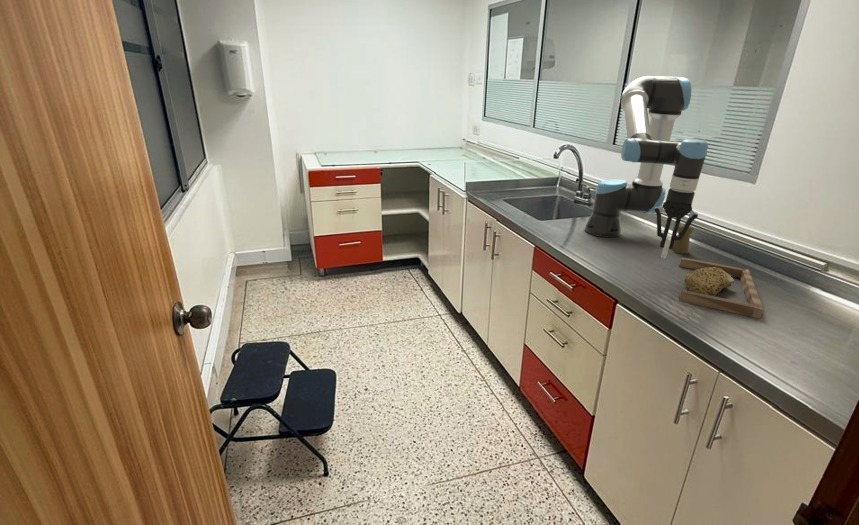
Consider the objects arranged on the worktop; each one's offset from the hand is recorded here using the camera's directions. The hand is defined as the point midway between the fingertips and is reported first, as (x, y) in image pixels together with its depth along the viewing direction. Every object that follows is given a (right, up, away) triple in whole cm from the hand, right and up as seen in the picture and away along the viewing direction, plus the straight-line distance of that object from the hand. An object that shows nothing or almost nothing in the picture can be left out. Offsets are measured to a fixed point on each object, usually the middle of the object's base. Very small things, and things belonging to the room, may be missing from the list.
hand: (663, 256), depth 150 cm
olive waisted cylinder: (+21, +3, +28) cm, 35 cm away
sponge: (+10, -12, -7) cm, 17 cm away
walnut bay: (+14, -10, -5) cm, 18 cm away
